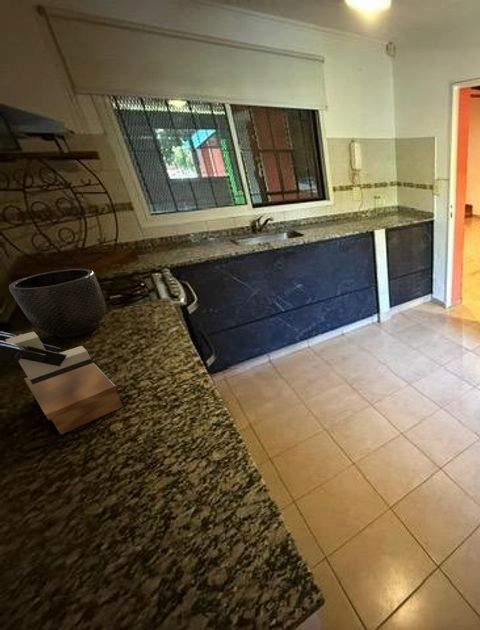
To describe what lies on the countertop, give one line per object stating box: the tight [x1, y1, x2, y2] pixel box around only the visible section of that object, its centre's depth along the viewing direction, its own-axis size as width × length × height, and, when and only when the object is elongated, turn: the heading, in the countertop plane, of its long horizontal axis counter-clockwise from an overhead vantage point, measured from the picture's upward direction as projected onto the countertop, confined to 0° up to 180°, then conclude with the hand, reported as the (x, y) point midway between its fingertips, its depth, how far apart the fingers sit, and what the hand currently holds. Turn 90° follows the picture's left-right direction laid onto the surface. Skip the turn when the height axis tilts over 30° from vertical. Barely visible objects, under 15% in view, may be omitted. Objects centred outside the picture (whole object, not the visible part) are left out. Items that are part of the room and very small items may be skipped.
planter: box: [8, 268, 107, 339], centre depth 114 cm, size 20×20×19 cm
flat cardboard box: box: [23, 362, 124, 435], centre depth 83 cm, size 12×22×6 cm, turn 54°
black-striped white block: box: [5, 331, 94, 384], centre depth 78 cm, size 10×5×10 cm, turn 144°
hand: (59, 356), depth 79 cm, fingers closed on black-striped white block, 4 cm apart
